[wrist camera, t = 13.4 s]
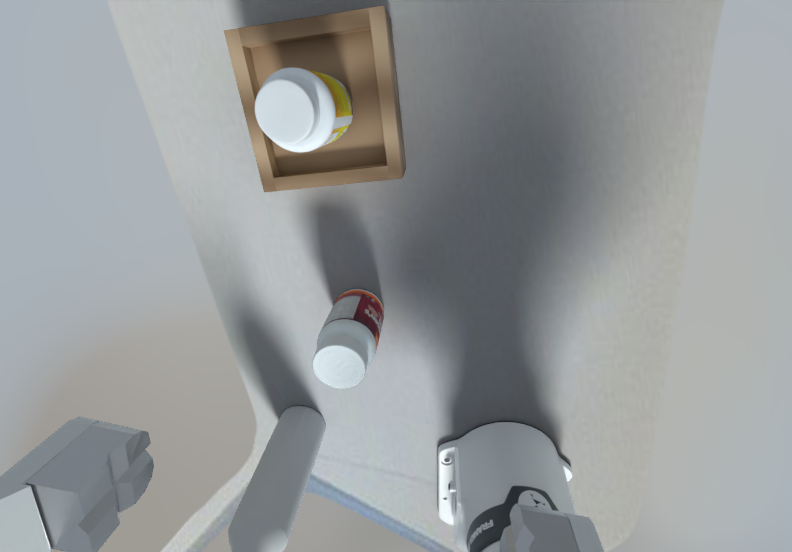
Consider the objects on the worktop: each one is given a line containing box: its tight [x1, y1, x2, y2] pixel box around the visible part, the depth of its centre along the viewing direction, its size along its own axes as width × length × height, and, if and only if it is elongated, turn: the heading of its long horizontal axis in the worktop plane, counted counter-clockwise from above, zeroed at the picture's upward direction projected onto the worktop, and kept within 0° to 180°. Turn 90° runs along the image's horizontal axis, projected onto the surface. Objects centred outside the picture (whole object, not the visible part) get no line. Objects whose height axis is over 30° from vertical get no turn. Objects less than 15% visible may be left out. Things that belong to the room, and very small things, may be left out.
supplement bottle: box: [255, 67, 353, 152], centre depth 30 cm, size 6×6×10 cm
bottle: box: [228, 406, 326, 552], centre depth 43 cm, size 7×7×28 cm
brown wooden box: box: [224, 5, 406, 192], centre depth 35 cm, size 13×13×6 cm
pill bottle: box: [313, 289, 384, 388], centre depth 42 cm, size 6×6×11 cm
